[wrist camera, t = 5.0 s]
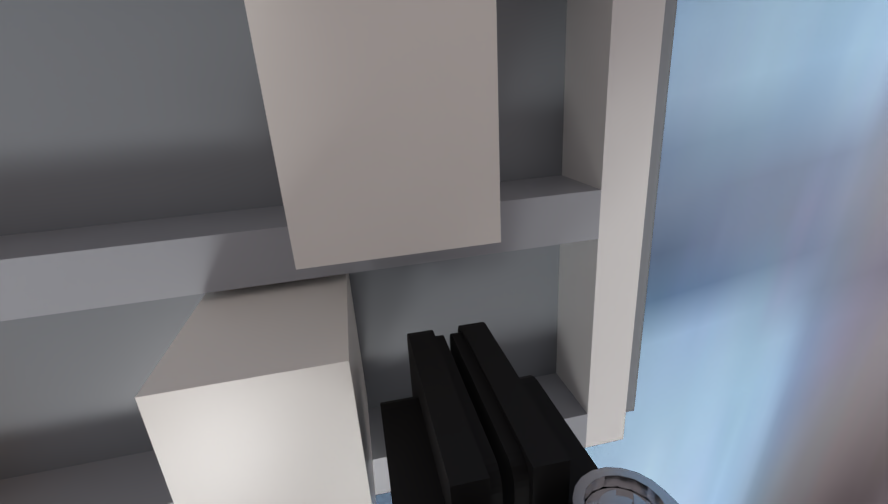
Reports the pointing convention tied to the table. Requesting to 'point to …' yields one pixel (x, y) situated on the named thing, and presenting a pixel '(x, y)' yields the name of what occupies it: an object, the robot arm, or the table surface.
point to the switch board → (266, 232)
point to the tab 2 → (264, 399)
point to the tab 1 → (381, 124)
